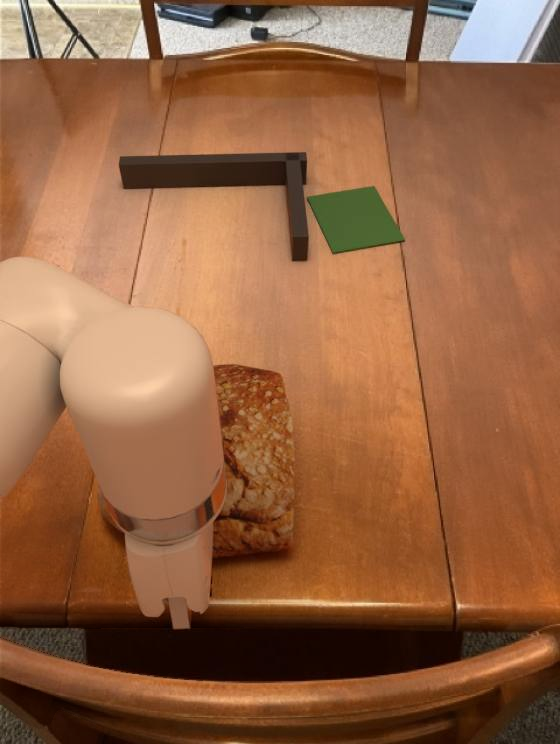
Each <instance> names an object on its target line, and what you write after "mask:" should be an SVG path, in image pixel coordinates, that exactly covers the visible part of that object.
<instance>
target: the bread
mask: <svg viewBox="0 0 560 744" xmlns="http://www.w3.org/2000/svg"><path fill="white" fill-rule="evenodd" d="M213 368H214V375H215V384H216V393H217V402H218V410H219V419H220V428H221V437H222V446H223V455H224V463H225V472H226V480H227V493H226V498H225V502H224V505H223V507H222V509H221V511H220V513H219V515H218V516H217V517H216V519H215V520H214V521H213V549H212V559H215V558H217V559H218V558H227V557H237V556H242V555H249V554H254V553H272V552H273V553H274V552H281V551H282V552H283V551H286V550H289V549H292V548H293V547H294V545H295V542H294V541H295V540H294V527H295V519H296V514H295V508H294V506H295V499H296V484H295V482H296V481H295V479H296V478H295V477H296V475H295V472H296V456H295V455H296V453H295V440H294V439H295V438H294V437H295V436H294V427H293V420H292V419H293V418H292V412H291V407H290V403H289V400H288V398H287V393H286V384H285V381H284V378H283V376H282V374H281V373H280V372H276V371H274V370H270V369H265V368H259V367H253V366H247V365H243V364H242V365H241V364H235V363H229V364H215V365H214V364H213ZM96 498H97V500H98V505H99V508H100V512H101V517H102V519H103V520H104V521H106V522H107V523H108V524H110V525H111V526H112V527H114V528H115V529H117V531H119V532H121V533H123V535H125V533H124V532H123V531H122V530H121V529H120V528H119V527H118V526H117V524H116V522H115V521H114V519H113V518H112V516H111V513H110V511H109V509H108V506H107V504H106V501H105V499H104V496H103V494H102V492H101V489H100V486H99V485H98V489H97V494H96Z"/></svg>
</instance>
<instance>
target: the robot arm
mask: <svg viewBox="0 0 560 744" xmlns="http://www.w3.org/2000/svg"><path fill="white" fill-rule="evenodd" d="M213 366H214V363H213V358H212V354H211V350H210V348H209V345H208V343H207V342H206V339H205V338H204V336H203V334H202V333H201V332H200V331H199V330H198V328H196V326H195V325H194V324H193V323H191V322H190V321H189V320H188V319H186V318H184V317H183V316H181V315H179V314H177V313H175V312H174V311H170V310H167V309H164V308H160V307H155V306H143V305H142V306H141V305H140V306H139V305H138V306H133V305H132V304H130V303H128V302H126V301H124V300H122V299H120V298H118V297H116V296H114V295H112V294H110V293H108V292H106V291H104V290H103V289H101V288H99V287H97V286H95V285H93V283H90V282H89V281H86V280H85V279H83V278H81V277H79V276H78V275H76V274H74V273H73V272H71V271H68V270H67V269H65V268H63V267H61V266H59V265H57V264H54V263H51V262H49V261H46V260H43V259H40V258H36V257H31V256H14V257H10V258H9V257H8V258H7V259H5V260H2V261H0V501H1V500H2V499H4V497H6V496H7V495H8V494H9V493H10V492H11V491H12V490H13V489H14V487H15V486H16V485H17V484H18V482H19V481H20V479H21V478H22V477H23V475H24V473H25V472H26V470H27V469H28V468H29V466H30V465H31V464H32V462H33V460H34V459H35V457H36V455H38V453H39V451H40V449H41V448H42V447H43V445H44V443H45V442H46V440H47V438H48V437H49V435H50V434H51V432H52V430H53V429H54V427H55V425H56V424H57V423H58V421H59V419H60V418H61V417H62V415H63V413H64V411H65V410H66V409H67V412H68V414H69V417H70V419H71V422H72V424H73V426H74V430H75V431H76V433H77V436H78V439H79V441H80V443H81V446H82V448H83V450H84V452H85V455H86V458H87V460H88V462H89V465H90V467H91V470H92V472H93V475H94V477H95V479H96V482H97V484H98V487H99V486H100V489H101V492H102V494H103V496H104V499H105V501H106V504H107V506H108V509H109V511H110V513H111V516H112V518H113V519H114V521H115V522H116V524H117V526H118V527H119V528H120V529H121V530H122V531H123V532H124V533H125V534H124V533H123V534H124V543H125V545H124V546H125V555H126V561H127V567H128V573H129V578H130V582H131V584H132V585H131V586H132V588H133V592H134V595H135V598H136V601H137V604H138V608H139V610H140V612H141V613H142V614H143V615H144V617H146V618H147V617H148V618H159V617H160V616H161V615H162V614H163V613H164V611H165V610H166V605H165V603H168V608H169V614H170V619H171V626H172V630H191V628H192V617H193V615H192V614H193V612H194V613H199V614H200V615H202V614H203V613H205V612H206V611H207V609H209V606H210V598H211V597H213V588H212V587H213V586H212V584H213V573H212V568H213V567H212V566H213V564H212V563H213V558H212V549H213V521H214V520H215V519H216V517H217V516H218V515H219V513H220V511H221V509H222V507H223V505H224V502H225V498H226V493H227V480H226V472H225V463H224V455H223V446H222V437H221V428H220V419H219V410H218V402H217V393H216V384H215V375H214V368H213Z"/></svg>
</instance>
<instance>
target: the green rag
mask: <svg viewBox="0 0 560 744" xmlns="http://www.w3.org/2000/svg"><path fill="white" fill-rule="evenodd" d="M306 199H307V202H308V204H309V206H310V208H311V211H312V212H313V214H314V217H315V218H316V221H317V223H318V225H319V227H320V229H321V232H322V233H323V236H324V239H325V240H326V243H327V244H328V247H329V249H330V251H331V254H332V255H335V254H341V253H346V252H347V253H348V252H352V251H358V250H359V251H360V250H364V249H369V248H375V247H380V246H386V245H391V244H393V245H394V244H397V243H403V242H406V239H405V237H404V235H403V233H402V232H401V230H400V228H399V226H398V225H397V222H395V219H394V218H393V216H392V214H391V212H390V211H389V208H388V207H387V206H386V204H385V202H384V200H383V198H382V197H381V195H380V193H379V191H378V190H377V187H376V185H369V186H364V187H359V188H358V187H357V188H352V189H345V190H340V191H333V192H327V193H321V194H313V195H309V196H306Z"/></svg>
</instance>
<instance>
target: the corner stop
mask: <svg viewBox="0 0 560 744" xmlns="http://www.w3.org/2000/svg"><path fill="white" fill-rule="evenodd" d="M118 169H119V173H120V174H119V175H120V179H121V185H122V189H125V190H128V189H129V190H131V189H133V190H134V189H165V188H167V189H169V188H172V189H173V188H210V187H212V188H213V187H249V186H251V187H252V186H253V187H254V186H285V195H286V209H287V218H288V220H287V221H288V228H289V229H288V230H289V232H288V233H289V240H290V241H289V243H290V252H291V254H290V255H291V261H292V262H295V261H296V262H297V261H299V262H300V261H308V260H309V259H308V258H309V239H310V236H309V235H310V234H309V226H308V218H307V210H306V209H307V207H306V200H305V192H304V185H307V175H308V174H307V172H308V155H307V151H298V152H296V151H295V152H294V151H292V152H291V151H289V152H288V151H287V152H253V153H251V152H249V153H247V152H246V153H211V154H210V153H209V154H208V153H207V154H205V153H203V154H163V155H123V156H122V155H121V156H119V159H118Z"/></svg>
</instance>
